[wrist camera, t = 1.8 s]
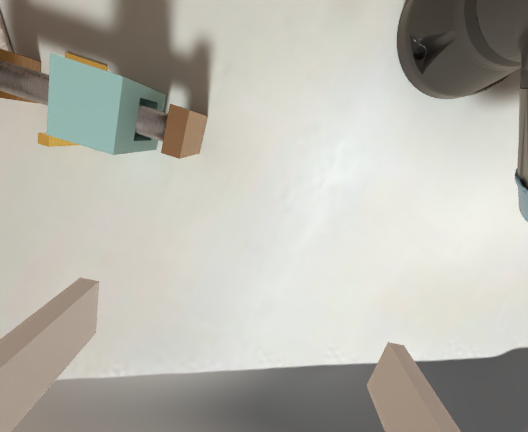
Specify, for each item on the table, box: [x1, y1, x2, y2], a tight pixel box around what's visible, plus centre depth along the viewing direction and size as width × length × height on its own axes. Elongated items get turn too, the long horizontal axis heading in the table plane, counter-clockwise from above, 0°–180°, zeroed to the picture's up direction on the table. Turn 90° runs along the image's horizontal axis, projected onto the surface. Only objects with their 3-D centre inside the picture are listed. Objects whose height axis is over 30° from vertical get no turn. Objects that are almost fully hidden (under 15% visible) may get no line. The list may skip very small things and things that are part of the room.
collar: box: [47, 53, 166, 155], centre depth 27 cm, size 6×7×10 cm
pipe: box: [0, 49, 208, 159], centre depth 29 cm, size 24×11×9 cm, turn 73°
